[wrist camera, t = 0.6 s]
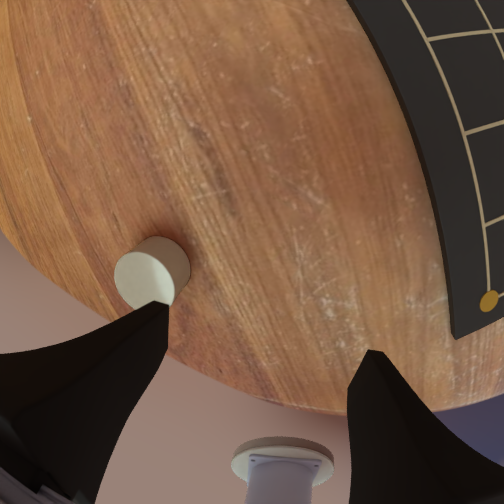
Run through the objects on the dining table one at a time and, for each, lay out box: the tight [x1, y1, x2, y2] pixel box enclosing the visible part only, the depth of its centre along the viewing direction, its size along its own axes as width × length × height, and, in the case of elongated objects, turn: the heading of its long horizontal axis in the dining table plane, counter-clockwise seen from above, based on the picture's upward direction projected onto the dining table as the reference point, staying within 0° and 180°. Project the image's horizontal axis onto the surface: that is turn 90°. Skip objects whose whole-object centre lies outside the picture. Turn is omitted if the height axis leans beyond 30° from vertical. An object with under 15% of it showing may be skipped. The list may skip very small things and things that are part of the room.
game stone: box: [114, 236, 190, 309], centre depth 20 cm, size 4×4×3 cm
